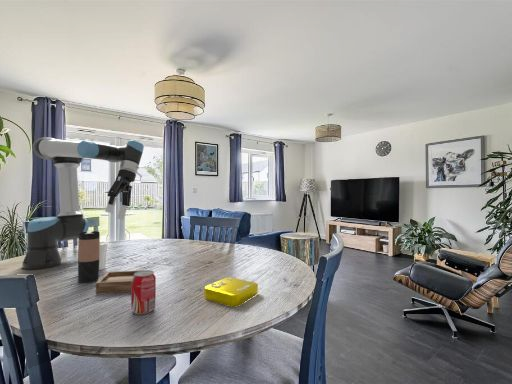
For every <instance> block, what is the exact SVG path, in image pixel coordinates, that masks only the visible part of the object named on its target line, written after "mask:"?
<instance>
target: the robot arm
mask: <svg viewBox="0 0 512 384" xmlns="http://www.w3.org/2000/svg"><path fill="white" fill-rule="evenodd" d="M144 148H145V147H144V144H143V143H142V142H140V141H139V140H134V139H130V140H128V141H127V143H126V145H121V146H118V145H117V146H116V145H112V144H111V145H110V144H106V143H101V142H96V141H93V140H81V141H80V140H79V141H76V140H64V139H58V138H54V137H48V136H47V137H46V136H45V137H39V138H37V139H36V140H35V141H33V144H32V151H33V152H34V154H35V155H36V156H37V157H39V158H40V159H43V160H46V161H53V166H55V167H56V168H57V173H58V174H57V176H58V178H57V179H58V194H59V209H60V210H59V211H60V212H59V214H58V215H57V216H47V217H46V216H45V217H40V218H34V219H32V220H29V221H28V224H27V229H26V231H27V251H26V254H25V256H24V259H23V261H22V263H21V264H22V266H21V268H22V269H25V270H39V269H47V268H52V267H57V266H59V265H61V264H62V257H61V254H60V252H59V251H60V250H59V249H58V242H65V241H72V240H78V239H79V233H80V232H86V233H88V231H89V227H90V223H89V220H88V219H87V218H86V217H84V214H83V213H82V212H81V211H80V199H79V198H80V197H79V184H78V182H79V181H78V168H80V165H81V163H82V162H83V161H84V159H88V160H89V159H92V160H99V161H100V160H101V161H107V162H110V163H120V165H119V170H118V172H117V176H116V178H115V180H114V182H113V184H112V185H111V187H110V188H109V190H108V191H107V197H108V201H107V205H106V208H105V211H104V212H105V213H108V214H109V213H111V214H113V213H114V209H115V207H116V202H117V199H118V198H117V197H118V196H119V194H120V193H121V199H122V200H121V204H120V207H119V211H118V213H117V217H116V218H117V219H120V220H125V216H126V212H127V209H128V207H130V206H131V195H132V188H133V186H132V185H131V183H135V180H136V177H137V173H138V169H140V167H139V165H140V162H141V159H142V155H143V153H144Z"/></svg>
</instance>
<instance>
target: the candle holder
mask: <svg viewBox="0 0 512 384" xmlns="http://www.w3.org/2000/svg"><path fill="white" fill-rule="evenodd" d="M108 244H109V243H108V242H107V241H100V249H99V271H102V270H104V269H105V268H106V266H107V265H106V264H107V253H108Z"/></svg>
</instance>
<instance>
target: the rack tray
mask: <svg viewBox="0 0 512 384" xmlns="http://www.w3.org/2000/svg"><path fill="white" fill-rule="evenodd" d="M143 270H144V269H142V270H138V269H137V270H122V271H121V270H120V271H117V270H116V271H107V272H106V273H105V274H104V275H102V277H101V278H99V279H98V280H97V282H96V283H95V295H102V294H118V293H119V294H121V293H131V285H132V278H133V277H134V273H135V272H138V271H143Z"/></svg>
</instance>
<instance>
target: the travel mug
mask: <svg viewBox="0 0 512 384" xmlns="http://www.w3.org/2000/svg"><path fill="white" fill-rule="evenodd" d="M100 236H101V235H100V231H97V230H93V231H91V232H87V233H86V232H80V233H79V238H78V239H77V240H78V241H77V242H78V243H77V246H78V249H77V279H78V280H77V281H78V283H79V284H90V283H94V282H96V281H97V282H98V281H99V278H100V277H99V273H100V272H99V271H100V270H99V249H100V242H101V241H100Z"/></svg>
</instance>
